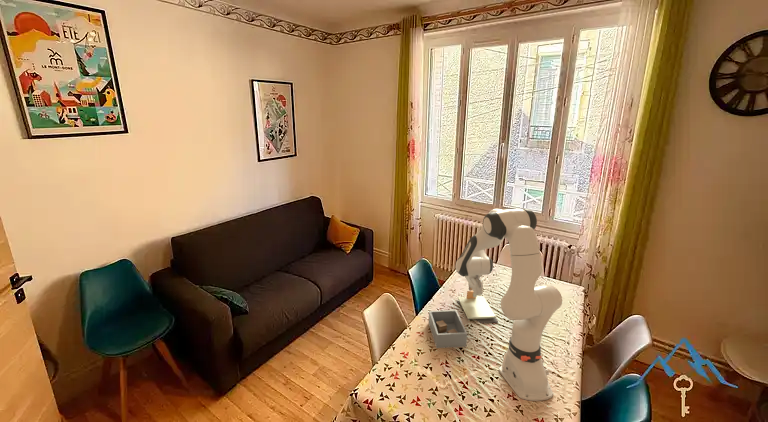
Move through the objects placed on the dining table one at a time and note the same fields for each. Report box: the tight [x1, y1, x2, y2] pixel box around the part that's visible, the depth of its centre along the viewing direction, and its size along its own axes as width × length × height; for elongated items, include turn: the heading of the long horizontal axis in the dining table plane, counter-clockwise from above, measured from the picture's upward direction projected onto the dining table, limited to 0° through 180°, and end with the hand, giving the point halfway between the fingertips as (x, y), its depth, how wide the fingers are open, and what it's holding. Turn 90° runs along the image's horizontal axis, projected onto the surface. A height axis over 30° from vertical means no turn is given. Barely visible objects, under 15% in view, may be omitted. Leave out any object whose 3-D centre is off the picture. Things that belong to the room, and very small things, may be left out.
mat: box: [456, 300, 499, 324], centre depth 183 cm, size 20×16×1 cm
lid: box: [457, 290, 497, 320], centre depth 182 cm, size 19×15×6 cm
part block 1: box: [436, 320, 447, 334], centre depth 166 cm, size 4×4×4 cm
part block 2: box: [447, 329, 458, 333], centre depth 160 cm, size 4×4×4 cm
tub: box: [428, 309, 468, 349], centre depth 163 cm, size 18×14×8 cm
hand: (472, 293), depth 189 cm, fingers open, 5 cm apart
